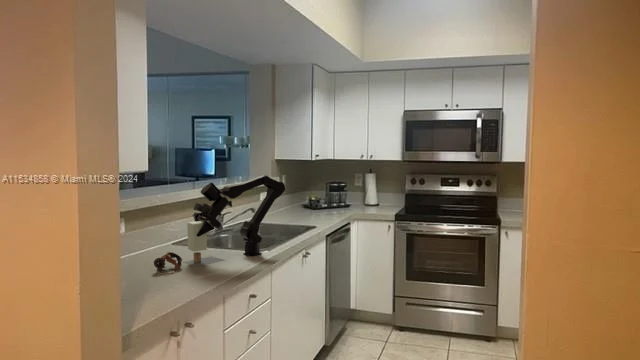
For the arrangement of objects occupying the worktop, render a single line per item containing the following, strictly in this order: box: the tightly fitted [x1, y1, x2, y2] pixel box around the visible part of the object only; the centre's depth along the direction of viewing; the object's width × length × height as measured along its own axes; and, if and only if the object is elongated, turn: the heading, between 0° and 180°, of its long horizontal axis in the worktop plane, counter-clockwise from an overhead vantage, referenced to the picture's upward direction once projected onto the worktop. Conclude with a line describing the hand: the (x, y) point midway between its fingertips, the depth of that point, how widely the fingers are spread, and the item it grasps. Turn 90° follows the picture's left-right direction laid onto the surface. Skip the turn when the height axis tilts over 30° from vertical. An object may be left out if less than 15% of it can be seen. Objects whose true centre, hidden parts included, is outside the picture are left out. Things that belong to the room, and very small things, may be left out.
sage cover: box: [186, 220, 208, 253], centre depth 210 cm, size 6×7×12 cm
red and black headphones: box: [153, 251, 183, 272], centre depth 198 cm, size 12×10×8 cm
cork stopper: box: [193, 251, 202, 263], centre depth 211 cm, size 3×3×4 cm
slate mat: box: [182, 255, 225, 267], centre depth 213 cm, size 15×11×1 cm
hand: (194, 235), depth 209 cm, fingers closed on sage cover, 7 cm apart
